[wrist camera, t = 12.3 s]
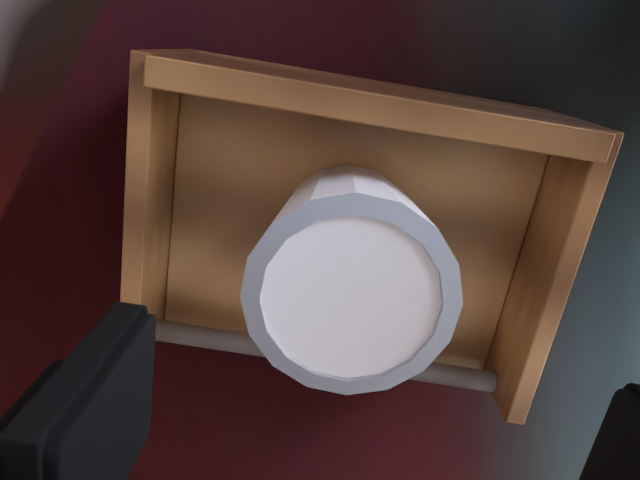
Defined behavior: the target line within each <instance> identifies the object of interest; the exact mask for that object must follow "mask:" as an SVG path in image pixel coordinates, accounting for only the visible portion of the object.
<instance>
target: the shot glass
mask: <svg viewBox="0 0 640 480" xmlns="http://www.w3.org/2000/svg"><path fill="white" fill-rule="evenodd" d="M240 300H241V304H242V308H243V312H244V316H245V320H246V324H247V329H248V333H249V335H250V337H251V338H252V339H253V341H254V342H255V343H256V345H257V346H258V347H259V349H260V350H261V351H262V353H263V354H264V355H265V357H266V358H267V359H268V361H269V362H270V363H271V365H272V366H273V367H275V368H277V369H278V370H280V371H282V372H283V373H285V374H286V375H288V376H290V377H291V378H293V379H295V380H296V381H298V382H300V383H301V384H303V385H304V386H306V387H310V388H314V389H319V390H324V391H329V392H334V393H339V394H343V395H351V394H359V393H367V392H374V391H382V390H388V389H390V388H392V387H394V386H396V385H398V384H400V383H402V382H404V381H406V380H407V379H409V378H411V377H413V376H415V375H417V374H419V373H421V372H423V371H424V370H425V369H426V368H427V367H428V366H429V365H430V364H431V362H432V361H433V360H434V359H435V358H436V357H437V356H438V355H439V354H440V352H441V351H442V350H443V349H444V348H445V347H446V346H447V345H448V344H449V343H450V341H451V338H452V335H453V332H454V329H455V326H456V324H457V321H458V318H459V315H460V312H461V309H462V306H463V298H462V287H461V277H460V267H459V263H458V261H457V260H456V258H455V256H454V255H453V253H452V251H451V250H450V248H449V246H448V245H447V243H446V241H445V239H444V238H443V236H442V234H441V233H440V231H439V229H438V228H437V227H436V226H435V225H434V224H433V223H432V222H431V221H430V220H429V218H428V217H427V216H426V215H425V214H424V213H423V212H422V211H421V210H420V209H419V208H418V207H417V206H416V205H415V204H414V203H413V202H412V201H411V200H410V199H409V198H408V197H407V195H406V194H405V193H404V192H403V191H402V190H401V189H400V188H399V187H398V186H397V185H396V184H394V183H393V182H391V181H390V180H389V179H387V178H386V177H384V176H383V175H382V174H380V173H379V172H377V171H376V170H372V169H368V168H363V167H359V166H355V165H350V164H349V165H343V166H337V167H331V168H325V169H322V170H320V171H319V172H317V173H315V174H314V175H312V176H311V177H309V178H307V179H306V180H304V181H302V182H301V183H300V184H299V186H298V187H297V188H296V190H295V191H294V193H293V194H292V195H291V197H290V198H289V200H288V201H287V203H286V204H285V205H284V207H283V208H282V210H281V211H280V212H279V214H278V215H277V217H276V218H275V219H274V221H273V222H272V224H271V225H270V226H269V228H268V229H267V231H266V232H265V233H264V235H263V236H262V238H261V239H260V240H259V242H258V243H257V245H256V246H255V248H254V249H253V250H252V252H251V253H250V255H249V256H248V257H247V262H246V267H245V272H244V278H243V283H242V288H241V293H240Z"/></svg>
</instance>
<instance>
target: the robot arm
mask: <svg viewBox="0 0 640 480" xmlns="http://www.w3.org/2000/svg"><path fill="white" fill-rule="evenodd" d="M155 332H156V316H155V314H149V313H148V310H147V307H146V306H145V305H138V304H132V303H126V302H120V301H117V302H116V303H115V304H114V305H113V306H112V307H111V308H110V309H109V310H108V311H107V313H106V314H105V315H104V316H103V317H102V318H101V319H100V321H99V322H98V323H97V324H96V325H95V326H94V327H93V329H92V330H91V331H90V332H89V333H88V334H87V335H86V336H85V338H84V339H83V340H82V341H81V342H80V343H79V344H78V346H77V347H76V348H75V349H74V350H73V351H72V352H71V354H70V355H69V356H68V357H67V358H66V359H65V360H61V359H59V360H55V361H54V362H53V363H51V364H50V365H49V366H48V367H47V368H46V369H45V371H44V372H43V373H42V374H41V375H40V376H39V377H38V378H37V379H36V380H35V382H34V383H33V384H32V385H31V386H30V387H29V388H28V389H27V390H26V391H25V392H24V394H23V395H22V396H21V397H20V398H19V399H18V400H17V401H16V402H15V403H14V405H13V406H12V407H11V408H10V409H9V410H8V411H7V412H6V413H5V414H4V416H3V417H2V418H1V419H0V480H127V479H128V477H129V475H130V473H131V471H132V469H133V467H134V465H135V463H136V461H137V459H138V457H139V455H140V453H141V451H142V449H143V447H144V445H145V442H146V440H147V437H148V434H149V429H150V422H151V405H152V387H153V368H154V350H155ZM579 480H640V384H633V383H630V384H627V385H626V386H625V387H624V388H623V389H618V390H617V391H616V392H615V394H614V395H613V398H612V400H611V403H610V405H609V408H608V410H607V413H606V415H605V417H604V420H603V422H602V425H601V427H600V430H599V432H598V434H597V437H596V439H595V442H594V444H593V447H592V449H591V451H590V454H589V456H588V459H587V461H586V464H585V466H584V468H583V471H582V473H581V476H580V478H579Z"/></svg>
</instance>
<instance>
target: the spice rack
mask: <svg viewBox="0 0 640 480" xmlns="http://www.w3.org/2000/svg"><path fill="white" fill-rule="evenodd" d="M623 138H624V133H623V132H620V131H617V130H613V129H610V128H607V127H604V126H600V125H597V124H594V123H590V122H587V121H584V120H580V119H577V118H574V117H571V116H567V115H564V114H561V113H557V112H554V111H551V110H547V109H544V108H538V107H532V106H527V105H521V104H515V103H509V102H503V101H497V100H491V99H485V98H479V97H473V96H467V95H461V94H455V93H449V92H444V91H438V90H432V89H426V88H420V87H414V86H408V85H402V84H396V83H390V82H384V81H378V80H372V79H366V78H361V77H355V76H349V75H343V74H337V73H331V72H325V71H319V70H313V69H307V68H301V67H295V66H289V65H284V64H278V63H272V62H266V61H260V60H254V59H248V58H242V57H236V56H230V55H224V54H218V53H212V52H205V51H201V50H195V49H149V50H131V51H130V68H129V94H128V119H127V144H126V169H125V194H124V219H123V244H122V269H121V295H120V302H126V303H132V304H138V305H145V306H146V307H147V310H148V313H149V314H155V316H156V332H155V340H156V341H162V342H169V343H175V344H182V345H188V346H195V347H201V348H208V349H214V350H221V351H227V352H234V353H240V354H247V355H253V356H260V357H265V355H264V354H263V353H262V351H261V350H260V349H259V347H258V346H257V345H256V343H255V342H254V341H253V339H252V338H251V337H250V335H249V333H248V329H247V324H246V320H245V316H244V312H243V308H242V304H241V300H240V293H241V288H242V283H243V278H244V272H245V267H246V262H247V257H248V256H249V255H250V253H251V252H252V250H253V249H254V248H255V246H256V245H257V243H258V242H259V240H260V239H261V238H262V236H263V235H264V233H265V232H266V231H267V229H268V228H269V226H270V225H271V224H272V222H273V221H274V219H275V218H276V217H277V215H278V214H279V212H280V211H281V210H282V208H283V207H284V205H285V204H286V203H287V201H288V200H289V198H290V197H291V195H292V194H293V193H294V191H295V190H296V188H297V187H298V186H299V184H300V183H301V182H302V181H304V180H306V179H307V178H309V177H311V176H312V175H314V174H315V173H317V172H319V171H320V170H322V169H325V168H331V167H337V166H343V165H349V164H350V165H355V166H359V167H363V168H368V169H372V170H376V171H377V172H379V173H380V174H382V175H383V176H384V177H386V178H387V179H389V180H390V181H391V182H393V183H394V184H396V185H397V186H398V187H399V188H400V189H401V190H402V191H403V192H404V193H405V194H406V195H407V197H408V198H409V199H410V200H411V201H412V202H413V203H414V204H415V205H416V206H417V207H418V208H419V209H420V210H421V211H422V212H423V213H424V214H425V215H426V216H427V217H428V218H429V220H430V221H431V222H432V223H433V224H434V225H435V226H436V227H437V228H438V229H439V231H440V233H441V234H442V236H443V238H444V239H445V241H446V243H447V245H448V246H449V248H450V250H451V251H452V253H453V255H454V256H455V258H456V260H457V261H458V263H459V267H460V277H461V287H462V298H463V306H462V309H461V312H460V315H459V318H458V321H457V324H456V326H455V329H454V332H453V335H452V338H451V341H450V343H449V344H448V345H447V346H446V347H445V348H444V349H443V350H442V351H441V352H440V354H439V355H438V356H437V357H436V358H435V359H434V360H433V361H432V362H431V364H430V365H429V366H428V367H427V368H426V369H425V370H424V371H423V372H421V373H419V374H417V375H415V376H413V377H411V378H409V380H416V381H422V382H429V383H435V384H442V385H448V386H455V387H461V388H468V389H474V390H481V391H487V392H492V394H493V396H494V398H495V400H496V403H497V405H498V407H499V409H500V411H501V414H502V416H503V418H504V420H505V422H506V423H510V424H516V425H524V423H525V420H526V417H527V414H528V411H529V409H530V406H531V403H532V400H533V397H534V394H535V391H536V388H537V386H538V383H539V380H540V377H541V374H542V371H543V368H544V365H545V362H546V360H547V357H548V354H549V351H550V348H551V345H552V342H553V339H554V337H555V334H556V331H557V328H558V325H559V322H560V319H561V316H562V314H563V311H564V308H565V305H566V302H567V299H568V296H569V293H570V290H571V288H572V285H573V282H574V279H575V276H576V273H577V270H578V267H579V265H580V262H581V259H582V256H583V253H584V250H585V247H586V244H587V241H588V239H589V236H590V233H591V230H592V227H593V224H594V221H595V218H596V216H597V213H598V210H599V207H600V204H601V201H602V198H603V195H604V193H605V190H606V187H607V184H608V181H609V178H610V175H611V172H612V169H613V167H614V164H615V161H616V158H617V155H618V152H619V149H620V146H621V144H622V141H623Z"/></svg>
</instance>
